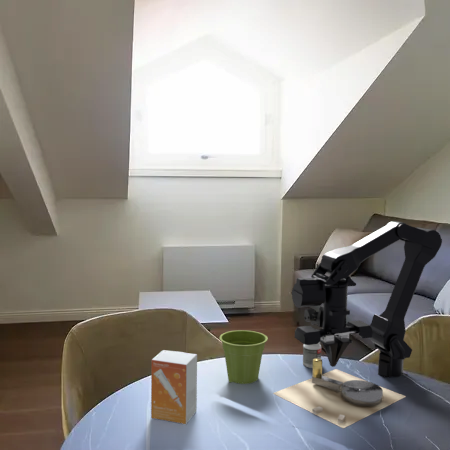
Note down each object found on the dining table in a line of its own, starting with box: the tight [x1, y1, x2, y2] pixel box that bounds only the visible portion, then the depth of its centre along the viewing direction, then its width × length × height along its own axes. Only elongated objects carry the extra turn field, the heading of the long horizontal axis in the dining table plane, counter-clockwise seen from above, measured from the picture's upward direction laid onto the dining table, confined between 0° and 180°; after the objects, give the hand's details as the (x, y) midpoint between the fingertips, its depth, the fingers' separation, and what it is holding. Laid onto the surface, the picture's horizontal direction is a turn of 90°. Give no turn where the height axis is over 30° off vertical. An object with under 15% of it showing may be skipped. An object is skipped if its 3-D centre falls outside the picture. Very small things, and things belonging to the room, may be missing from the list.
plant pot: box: [219, 329, 268, 385], centre depth 124 cm, size 12×12×11 cm
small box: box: [150, 349, 198, 425], centre depth 106 cm, size 8×6×13 cm
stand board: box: [272, 368, 407, 429], centre depth 115 cm, size 23×20×2 cm
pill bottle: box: [302, 342, 322, 369], centre depth 133 cm, size 5×5×8 cm
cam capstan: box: [311, 358, 383, 406], centre depth 116 cm, size 17×9×6 cm, turn 50°
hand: (332, 366), depth 123 cm, fingers closed
